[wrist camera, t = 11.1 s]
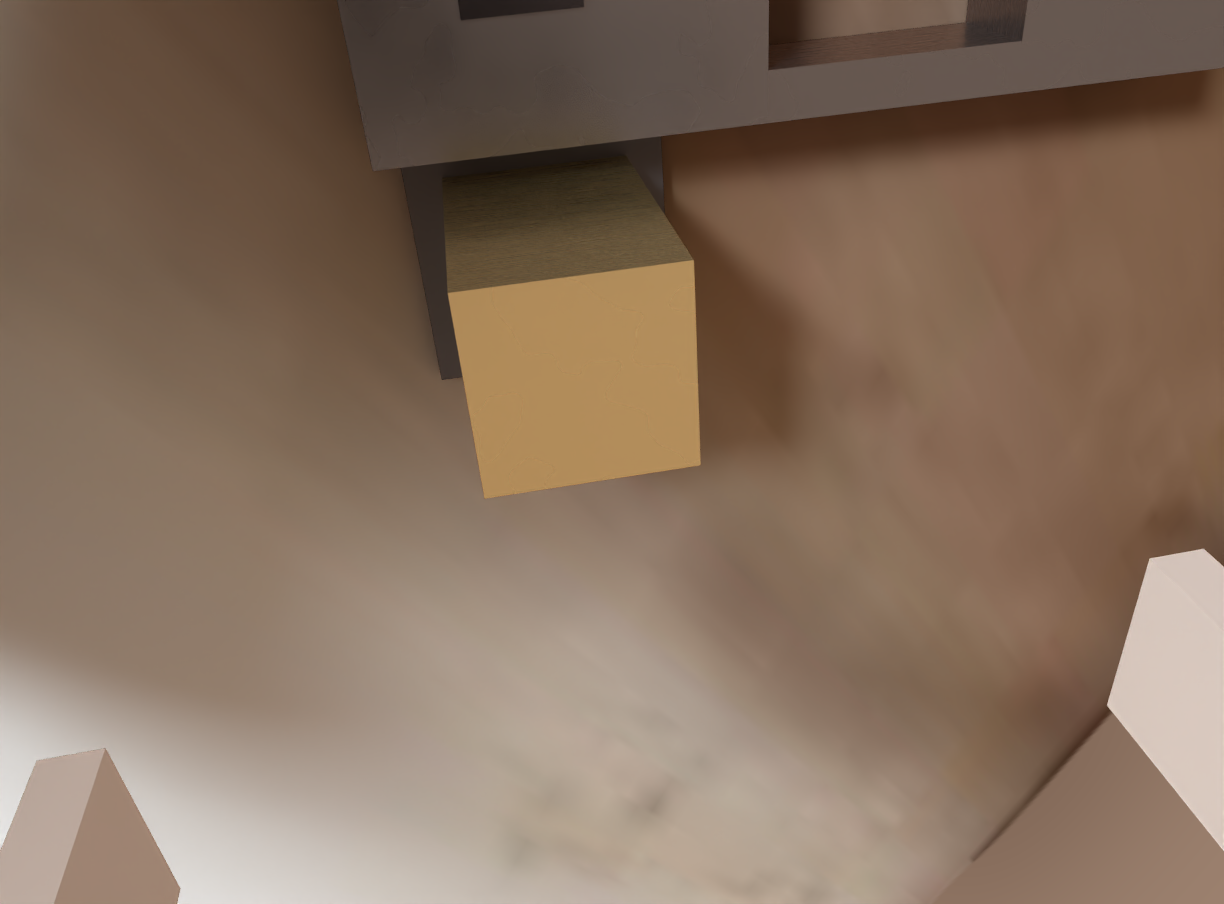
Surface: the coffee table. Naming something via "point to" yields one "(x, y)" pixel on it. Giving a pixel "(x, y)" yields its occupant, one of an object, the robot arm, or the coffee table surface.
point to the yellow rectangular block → (571, 325)
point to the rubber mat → (427, 179)
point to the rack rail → (716, 66)
